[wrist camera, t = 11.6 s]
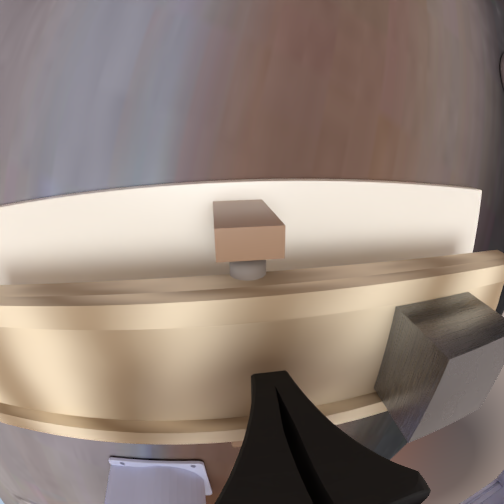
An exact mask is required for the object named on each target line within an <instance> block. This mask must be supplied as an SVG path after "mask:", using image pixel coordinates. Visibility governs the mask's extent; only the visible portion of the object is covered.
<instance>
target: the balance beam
mask: <svg viewBox="0 0 504 504" xmlns="http://www.w3.org/2000/svg"><path fill="white" fill-rule="evenodd" d="M229 270H230V274H224V275H209V276H193V277H176V278H159V279H140V280H121V281H100V282H76V283H50V284H19V285H0V421H1V422H2V423H6V424H9V425H13V426H17V427H21V428H25V429H30V430H34V431H39V432H44V433H49V434H54V435H60V436H66V437H73V438H80V439H87V440H96V441H106V442H117V443H133V444H206V443H222V442H234V441H243V440H244V436H245V432H246V428H247V424H248V420H249V415H250V409H251V376H252V375H253V374H256V373H266V372H275V371H284V370H286V371H287V372H288V373H289V375H290V376H291V377H292V379H293V380H294V382H295V383H296V384H297V385H298V387H299V388H300V389H301V390H302V392H303V393H304V394H305V395H306V396H307V398H308V399H309V400H310V401H311V402H312V403H313V404H314V405H315V406H316V407H317V408H318V409H319V410H320V411H321V412H322V413H323V414H324V415H325V416H326V417H327V418H328V419H329V420H330V421H331V422H332V423H333V424H334V425H337V424H341V423H345V422H349V421H353V420H357V419H361V418H364V417H368V416H371V415H375V414H378V413H381V412H384V411H388V410H387V408H386V407H385V405H384V404H383V402H382V400H381V399H380V397H379V396H378V394H377V393H376V391H375V390H374V386H375V382H376V379H377V376H378V373H379V369H380V366H381V363H382V359H383V356H384V352H385V348H386V345H387V341H388V337H389V333H390V329H391V325H392V321H393V316H394V312H395V307H396V306H401V305H406V304H412V303H417V302H422V301H427V300H432V299H437V298H442V297H446V296H451V295H456V294H460V293H465V292H469V293H471V294H472V295H474V296H475V297H476V298H478V299H479V300H481V301H482V302H483V303H485V304H486V305H488V306H489V307H490V308H492V309H493V310H494V311H495V310H496V307H497V304H498V301H499V298H500V294H501V291H502V288H503V284H504V253H502V252H500V251H498V250H492V251H483V252H475V253H466V254H456V255H447V256H437V257H428V258H418V259H408V260H397V261H387V262H376V263H365V264H354V265H342V266H330V267H318V268H306V269H293V270H280V271H267V272H266V260H252V261H235V262H229Z"/></svg>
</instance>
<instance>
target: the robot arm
mask: <svg viewBox="0 0 504 504" xmlns="http://www.w3.org/2000/svg"><path fill="white" fill-rule="evenodd" d="M109 463H110V464H111V467H110V472H109V478H108V484H107V490H106V496H105V502H104V504H206V497H205V495H211V494H212V489H211V486H210V483H209V479H208V476H207V472H206V469H205V465H204V463H203V462H202V461H156V460H138V459H125V458H115V457H110V458H109ZM429 493H430V488H429V487H428V485H427V483H426V481H425V480H424V479H423V477H422V476H421V475H420V473H419V472H418V471H416V470H413V469H410V468H407V467H404V466H402V465H399V464H397V463H394V462H392V461H390V460H388V459H386V458H384V457H382V456H380V455H378V454H376V453H375V452H373V451H371V450H369V449H368V448H366V447H364V446H363V445H361V444H360V443H358V442H357V441H355V440H354V439H352V438H351V437H349V436H348V435H347V434H346V433H344V432H343V431H342V430H340V429H339V428H338V427H337V426H336V425H334V424H333V423H332V422H331V421H330V420H329V419H328V418H327V417H326V416H325V415H324V414H323V413H322V412H321V411H320V410H319V409H318V408H317V407H316V406H315V405H314V404H313V403H312V402H311V401H310V400H309V399H308V398H307V396H306V395H305V394H304V393H303V392H302V390H301V389H300V388H299V387H298V385H297V384H296V383H295V382H294V380H293V379H292V377H291V376H290V375H289V373H288V372H287V371H286V370H284V371H275V372H266V373H256V374H253V375H252V376H251V409H250V415H249V420H248V424H247V428H246V432H245V436H244V440H243V443H242V446H241V449H240V452H239V455H238V457H237V460H236V462H235V465H234V467H233V469H232V472H231V474H230V476H229V478H228V480H227V482H226V484H225V486H224V488H223V490H222V492H221V494H220V495H219V497H218V499H217V501H216V502H215V504H421V503H422V502H423V501H424V500H425V499H426V498H427V497H428V496H429ZM459 504H504V471H503V472H501V474H500V475H499V476H498V477H497V478H496V479H495V480H494V481H492V482H491V483H489V484H488V485H487V486H485V487H484V488H483V489H481V490H479V491H478V492H476V493H475V494H473V495H472V496H471V497H469V498H467V499H466V500H464V501H463V502H461V503H459Z"/></svg>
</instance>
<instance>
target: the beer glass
mask: <svg viewBox="0 0 504 504" xmlns="http://www.w3.org/2000/svg"><path fill="white" fill-rule="evenodd" d="M500 72H501V79H502V84H503V87H504V53H503V55H502V58H501V62H500Z"/></svg>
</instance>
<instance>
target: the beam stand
mask: <svg viewBox="0 0 504 504" xmlns="http://www.w3.org/2000/svg"><path fill="white" fill-rule="evenodd" d="M481 193H482V190H479V189H476V188H471V187H462V186H452V185H441V184H429V183H416V182H400V181H382V180H358V179H242V180H217V181H198V182H182V183H168V184H156V185H144V186H133V187H123V188H114V189H105V190H96V191H88V192H80V193H73V194H66V195H59V196H52V197H46V198H39V199H33V200H27V201H21V202H16V203H10V204H5V205H0V285H19V284H50V283H76V282H100V281H121V280H140V279H159V278H176V277H193V276H209V275H224V274H230V270H229V262H235V261H252V260H266V272H267V271H280V270H293V269H306V268H318V267H330V266H342V265H354V264H365V263H376V262H387V261H397V260H408V259H418V258H428V257H437V256H447V255H456V254H466V253H472V252H473V247H474V241H475V236H476V230H477V224H478V217H479V210H480V202H481ZM242 443H243V441H234V442H232V447H241V446H242Z"/></svg>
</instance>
